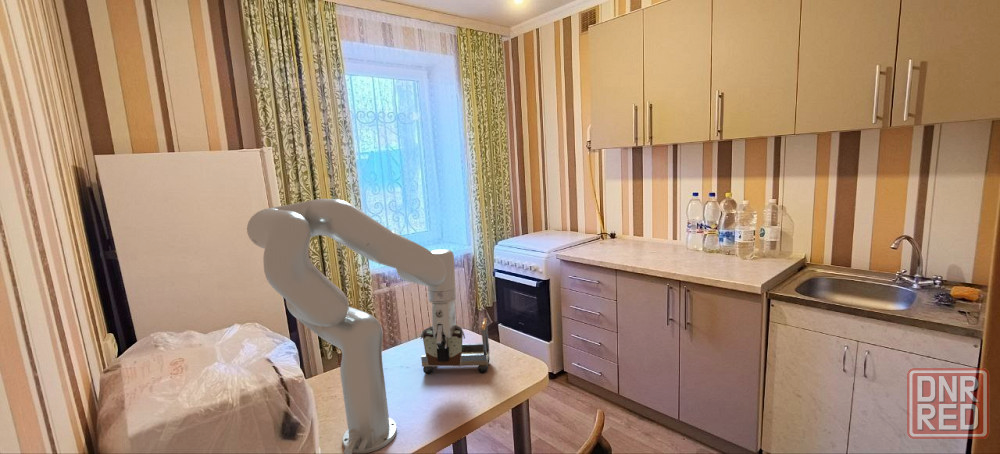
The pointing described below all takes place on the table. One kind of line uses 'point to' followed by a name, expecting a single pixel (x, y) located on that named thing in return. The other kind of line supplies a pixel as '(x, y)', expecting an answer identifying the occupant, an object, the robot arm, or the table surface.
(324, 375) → the table surface
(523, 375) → the table surface
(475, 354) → the trolley
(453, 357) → the food container
